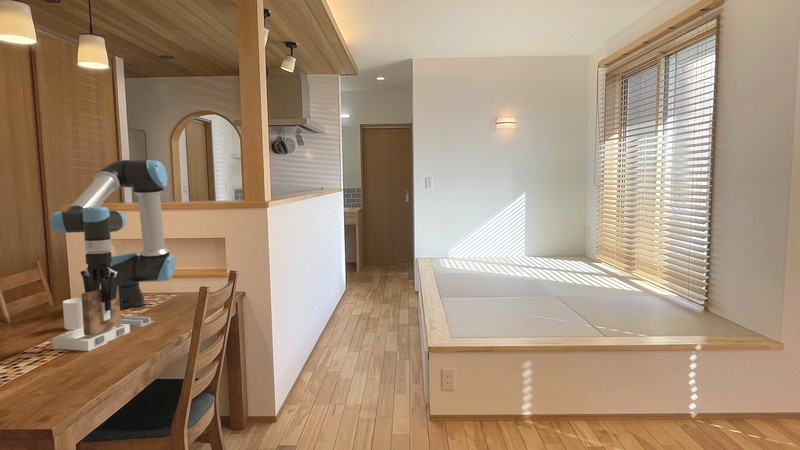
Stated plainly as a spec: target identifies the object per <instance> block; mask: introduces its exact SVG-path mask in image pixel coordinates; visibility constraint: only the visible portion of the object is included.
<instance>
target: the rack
mask: <svg viewBox="0 0 800 450" xmlns="http://www.w3.org/2000/svg"><path fill="white" fill-rule="evenodd" d="M120 319H121V324H130V327H141V328H142V327H145V326H147V325H150V324H152V323H154V322H155V320H152V317H149V316H140V315H139V316H138V315H137V316H135V315H125V316H124V317H123V318H120Z"/></svg>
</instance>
